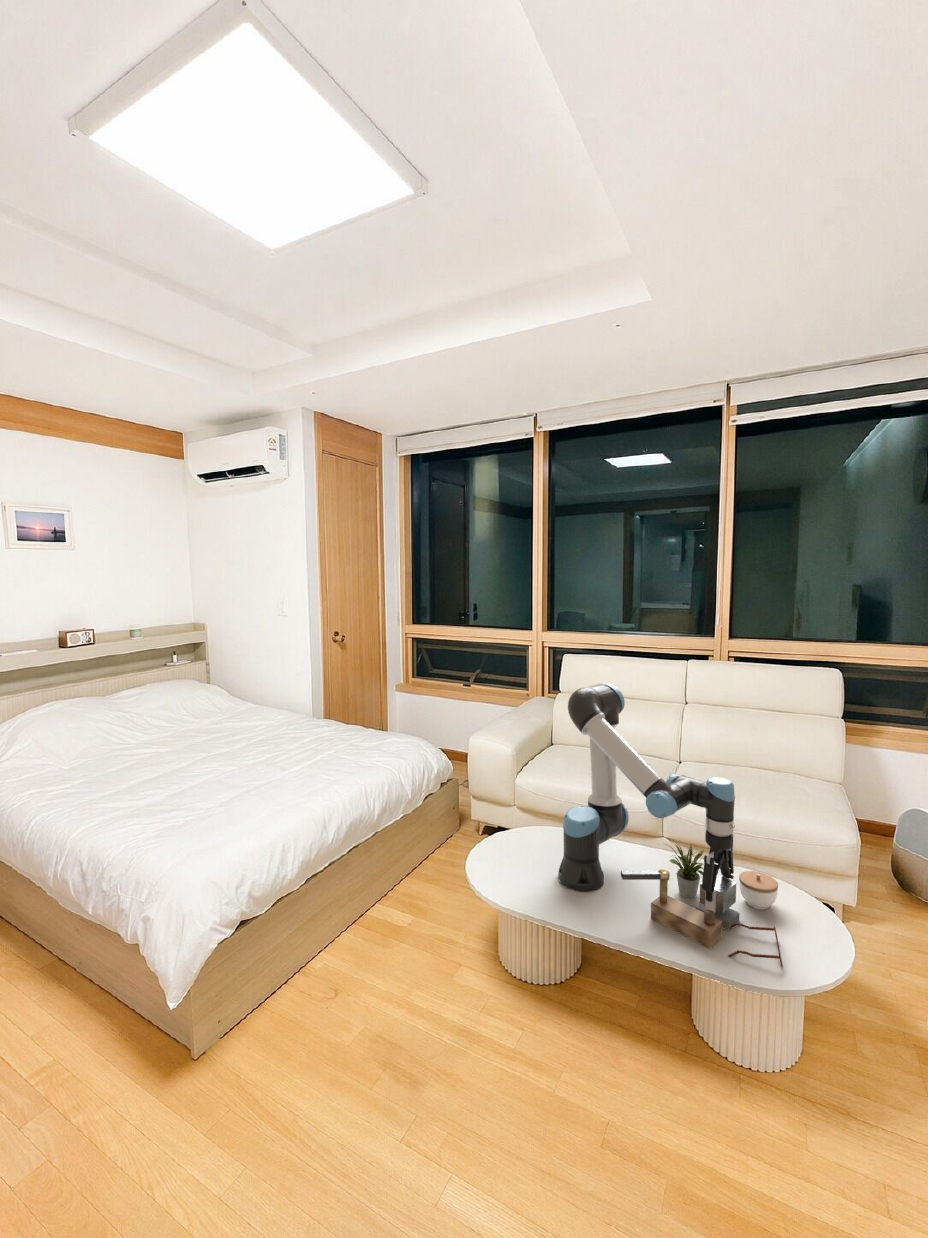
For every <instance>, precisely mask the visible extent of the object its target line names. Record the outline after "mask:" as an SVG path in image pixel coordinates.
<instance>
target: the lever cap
mask: <svg viewBox="0 0 928 1238" xmlns="http://www.w3.org/2000/svg"><path fill="white" fill-rule="evenodd" d="M721 876H722V875H719V874H718V875H717V880H716V884H715V889H714V890H715V891H716V905H715V910H717V911H719V912H721V913H724V912H725V911H726V910H727V909H728V908H730V909H731V907H732V906H733V905H734V904H735V903H736V902H737V882H736V881H734V880H732V879H730V878H729V879H730V880H729V879H726V878H724V877H721ZM701 887H702V881H701V882H699V904H700V903H702V904H704V905H705V892H706V890H703V889H702V888H701Z"/></svg>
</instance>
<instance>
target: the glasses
mask: <svg viewBox="0 0 928 1238" xmlns="http://www.w3.org/2000/svg"><path fill="white" fill-rule="evenodd" d="M737 926H738V927H742V928H746V929H748V930H754V931H755V930H757V931H772V932H773V931H774V935H775V941H776V945H777V952H778V955H777V954H776V955H775V954H760V953H759V954H758V953H752V952H748V951H746V950H739V949H738V950H735V951H734V952H732V953H729V954H727V956H728V957H729V958H732V957H734V956H736V955H738V954H742V955H747V956H750V957H752V958H762V959H763V958H765V959H775V960H776V959H777V960H779V962H780V966H781V967H784V966H783V962H782V961H783V960H782V954H781V951H780V950H781V949H780V944H779V939H778V934H777V929H776V926H775V925H774V926H773V927H763V926H762V927H761V926H759V927H758V926H749V925H747V924H743V923H739V922H738V923H735V924H733V925H732V926H731V927H730V930H729V931H731V930H732V929H734V928H735V927H737Z"/></svg>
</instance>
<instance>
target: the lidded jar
mask: <svg viewBox="0 0 928 1238" xmlns="http://www.w3.org/2000/svg"><path fill="white" fill-rule="evenodd" d="M738 878H739V879H738V880H739V891H740V894H741V896H742V898H743V899H744V900H745V901H746V903H747V904H748V905H749V906H750V907H752V908H754V909H757V910H767V909H769V908H770V907H771V906H772V905H774V903H775V902H776V899H777V896H778V888H779V883H778V881H777V880H776V879H775V878H774V877H772V876H771V875H769V874H766V873H763V872H760V871H755V870H748V871H747V870H745V871H743V872H741V873H739V876H738Z"/></svg>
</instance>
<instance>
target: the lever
mask: <svg viewBox="0 0 928 1238" xmlns="http://www.w3.org/2000/svg"><path fill="white" fill-rule="evenodd" d="M670 875H671V874H670V871H669V870H667V869H662V868H661V869H659V870H656V869H655V870H621V871H620V877H621V879H622V880H624V881H627V880H635V881H636V880H639V881H640V880H643V881H644V880H645V881H648V880H649V881H650V880H652V881H653V880H658V881H660V880H664V881H667V880H668V881H670Z"/></svg>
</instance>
